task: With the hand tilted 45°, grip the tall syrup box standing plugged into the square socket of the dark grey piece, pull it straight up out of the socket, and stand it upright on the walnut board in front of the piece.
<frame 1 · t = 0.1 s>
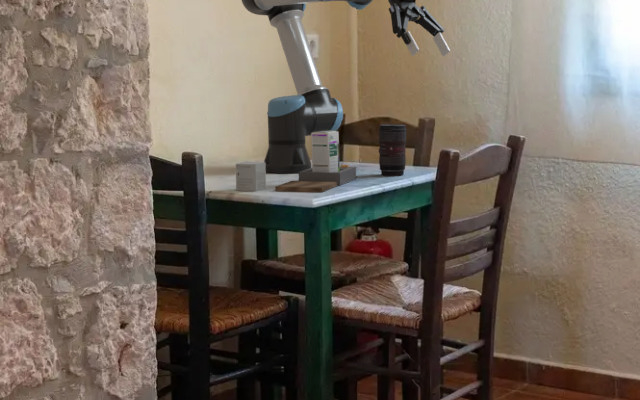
hand: (431, 53, 265), 36 cm above the table, tool tilted 35°, fingers open, 13 cm apart
product box: (251, 190, 252), on the table
syrup box: (325, 183, 265), resting in dark grey piece
camera lens: (392, 175, 281), on the table
dark grey piece: (328, 181, 267), on the table
walnut board: (306, 188, 252), on the table
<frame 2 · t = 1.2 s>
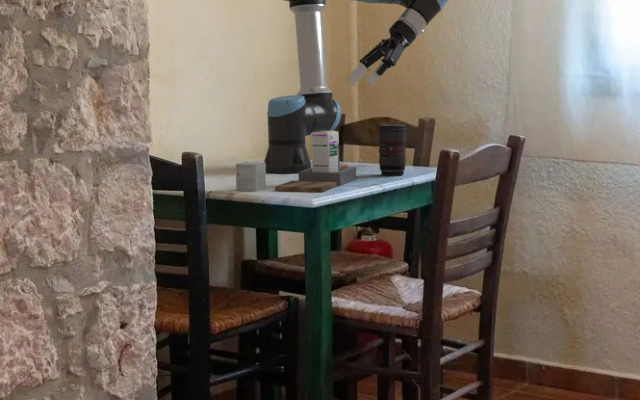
hand: (359, 82, 265), 28 cm above the table, tool tilted 45°, fingers open, 13 cm apart
nothing on the table moved.
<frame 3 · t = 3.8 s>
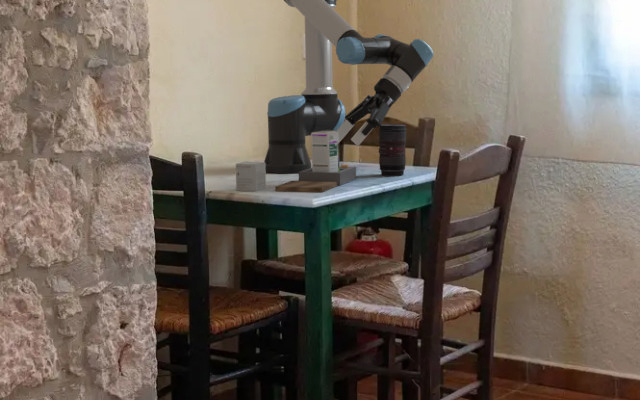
hand: (344, 141, 264), 11 cm above the table, tool tilted 45°, fingers open, 13 cm apart
nothing on the table moved.
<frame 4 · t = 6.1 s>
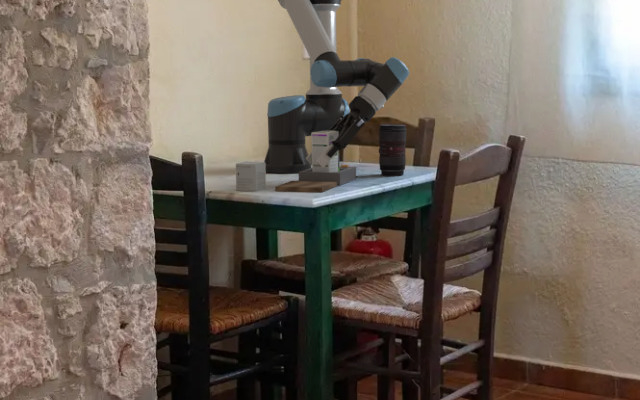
hand: (314, 163, 263), 6 cm above the table, tool tilted 45°, fingers closed on syrup box, 8 cm apart
syrup box: (325, 183, 265), resting in dark grey piece, touching gripper
everything else where it was.
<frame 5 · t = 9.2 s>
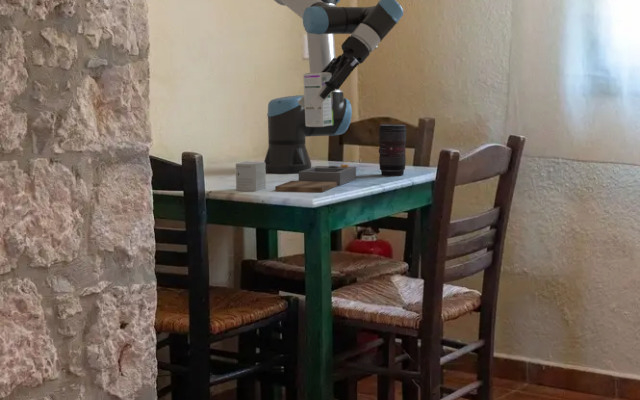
hand: (306, 106, 253), 22 cm above the table, tool tilted 45°, fingers closed on syrup box, 8 cm apart
syrup box: (319, 127, 255), point 16 cm above the table, touching gripper
everything else where it was.
when the fingers open (8 cm above the table, at t = 12.6 s): syrup box drops 1 cm, resting on walnut board.
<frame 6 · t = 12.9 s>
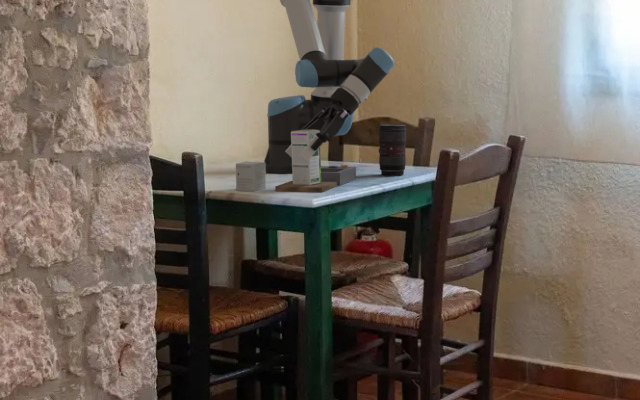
hand: (295, 156, 250), 9 cm above the table, tool tilted 45°, fingers open, 10 cm apart
syrup box: (306, 184, 252), point 1 cm above the table, touching walnut board
everything else where it was.
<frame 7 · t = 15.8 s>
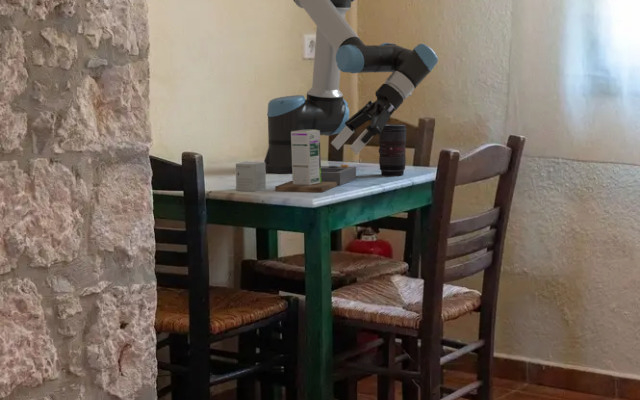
hand: (343, 148, 255), 10 cm above the table, tool tilted 45°, fingers open, 13 cm apart
nothing on the table moved.
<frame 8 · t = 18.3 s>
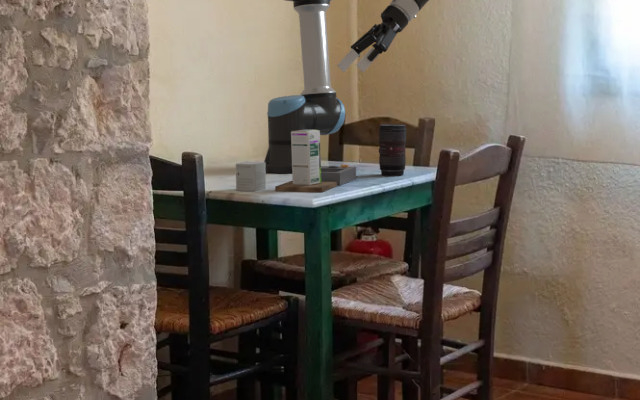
hand: (349, 68, 259), 32 cm above the table, tool tilted 45°, fingers open, 13 cm apart
nothing on the table moved.
at the end: syrup box inside the target area on the walnut board (0.3 cm from its centre), point 1.0 cm above the walnut board's base; syrup box tilted 0°; the gripper is holding nothing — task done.
